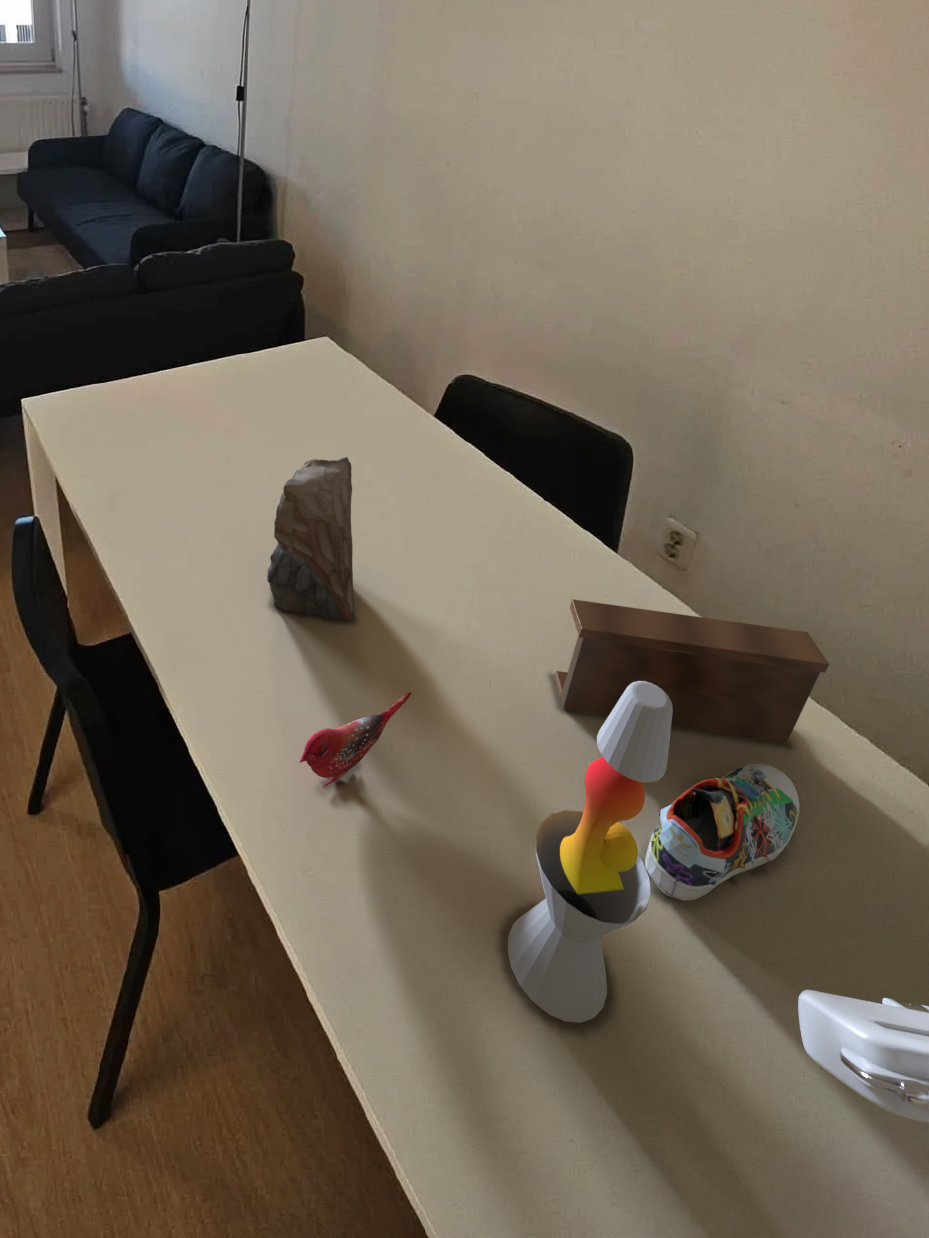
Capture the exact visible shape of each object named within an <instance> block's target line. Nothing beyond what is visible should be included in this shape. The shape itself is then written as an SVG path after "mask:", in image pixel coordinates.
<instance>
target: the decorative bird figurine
mask: <svg viewBox="0 0 929 1238" xmlns="http://www.w3.org/2000/svg"><path fill="white" fill-rule="evenodd" d="M412 694H413V691H409V692H407V693H406V694H405V695H403V696H402V697H401V698H399V699H398V700H397V701H395V702H394V703H393V704H391V705H390V706H389V707H388V708H387V709H385V710H384V711H382V712H381V713H379V714H372V715H368V716H364V717H360V718H357V719H355V720H353V721H351V722H348V723H346V724H344V725H341V726H339V727H336V728H323V729H320V730H318V731H316V732H315V733H313V734H312V735H311V736H310V737H309V738H308V740H307V741H306V743H305V746H304V750H303V753H302V755H301V756H300V759H299V763H300V764H301V763H303V762H306V764H307V765H308V766H309V767H310V769H311V771H312V772H313V773H314V774H316V775H317V776H318V777H320V778H325V779H330V780H329V781H328V782H326V783H324V785H323V786H322V789H324V788H325V787H328V786H329V785H331V784H332V783H337V782H338V781H339V780H340V779H342V778H343V777H344V776H345V775H346V774H347V773H348V772H349V771H350V770H351V769H353V768H354V767H355V766H356V765H358V764H359V763H360V762H361V761H362V760H363V758H365V756H366V755H367V754H368V752H369V751H370V750H371V748H372V747H373V746H374V745H375V744H376V742H377V741H378V740H379V738H380V737H381V735H382V733H383V731H384V730H385V728H386V725H387V724H388V723H389V721H390V719H392V717H394V715H395V714H396V713H397V712H398V710H399V709H400V708H401V707H402V706H403V705H404V704H405V703H406V701H408V699H409V698H410V697H411V695H412Z"/></svg>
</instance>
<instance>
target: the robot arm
mask: <svg viewBox="0 0 929 1238" xmlns="http://www.w3.org/2000/svg"><path fill="white" fill-rule="evenodd" d="M797 1008H798V1010H797V1013H798V1022H799V1030H800V1035H801V1041H802V1044H803V1048H804V1050H805V1053H806V1054H807V1056H808V1057H809V1058H810V1059H811V1060H812V1061H813V1062H815V1064H817V1065H818V1066H819V1067H820V1068H822V1069H824V1070H825V1071H826V1072H827V1073H829V1074H830V1075H831V1076H833V1077H834V1078H835V1079H837V1080H838V1081H839V1082H841V1083H842V1084H843V1085H845V1086H847V1087H848V1088H849V1089H851V1090H852V1091H854V1092H855V1093H857V1094H858V1095H860V1096H861V1097H863V1099H865V1100H867V1101H868V1102H870V1103H872V1104H874V1105H875V1106H878V1107H879V1108H881V1109H883V1110H885V1111H887V1112H890V1113H892V1114H895V1115H897V1116H901V1117H903V1118H906V1119H911V1120H914V1121H916V1122H917V1121H918V1122H922V1123H927V1124H929V1005H924V1004H919V1003H915V1002H908V1001H903V1000H897V999H892V998H888V997H883V998H882V1001H881V1003H879V1002H874V1001H869V1000H864V999H859V998H853V997H849V996H842V995H837V994H834V993H828V992H822V991H819V990H818V991H817V990H814V989H813V990H812V989H805V990H803V991H801V992H800V994H799V996H798V999H797Z"/></svg>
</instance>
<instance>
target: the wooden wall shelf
mask: <svg viewBox="0 0 929 1238" xmlns="http://www.w3.org/2000/svg"><path fill="white" fill-rule="evenodd" d="M569 605H570V606H569V609H570V613H571V616H572V619H573V622H574V625H575V628H576V631H577V634H578V635H577V639H576V641H575V646H574V649H573V653H572V657H571V659H570V663H569V665H568V669H567V671H562V670H556V671H555V674H554V681H555V684H556V688H557V691H558V696H559V698H560V699H559V700H560V702H561V707H562V709H564V710H571V711H576V712H584V713H589V714H597V715H603V716H607V717H608V716H609V715H610V713H611V712H612V710H613V708H614V707H615V705H616V704H617V702H618V701H619V699H620V698H621V696H622V694H623V693H624V691H625V690H626V688H627V687H628V686H629V685H630V684H631V683H633V682H637V681H646V682H649V683H652V684H654V685H656V686H658V687H659V688H661V689H662V690H663V691H664V692H665V693H666V694H667V695H668V697H669V699H670V700H671V702H672V708H673V713H672V722H671V727H672V726H673V727H677V728H685V729H691V730H697V731H704V732H710V733H716V734H723V735H728V736H729V735H730V736H736V737H740V738H748V739H754V740H761V741H766V742H767V741H768V742H773V743H780V744H784V745H785V744H788V741H789V739H790V738H791V736H792V733H793V731H794V729H795V728H796V727H795V726H796V725H797V723H798V721H799V718H800V716H801V714H802V712H803V710H804V708H805V706H806V703H807V702H808V700H809V698H810V695H811V693H812V691H813V689H814V686H815V684H816V682H817V680H818V678H819V676H820V673H823V674H824V673H825V674H826V672H827V670H828V669H829V666H830V663H829V662H828V660H827V659H826V657H825V656H824V654H823V653H822V651H821V650H820V649H819V647H818V646H817V644H816V642H815V640H813V638H812V637H811V635H810V633H809V632H808V631H804V630H796V629H789V628H781V627H775V626H768V625H767V626H766V625H761V624H753V623H746V622H738V621H732V620H731V621H730V620H724V619H717V618H711V617H710V618H709V617H702V616H695V615H687V614H682V613H681V614H680V613H673V612H666V611H660V610H651V609H645V608H638V607H631V606H624V605H616V604H609V603H602V602H595V601H588V600H587V601H586V600H581V599H579V600H578V599H575V598H574V599H573V598H572V599H571V602H570V604H569Z"/></svg>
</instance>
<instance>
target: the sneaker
mask: <svg viewBox="0 0 929 1238" xmlns="http://www.w3.org/2000/svg"><path fill="white" fill-rule="evenodd" d="M799 814H800V799H799V795H798V792H797V789H796V788H795V785H794V783H793V782H792V780H791V779H790V778H789V777H788V776H787V775H786V774H785V773H784V772H783V771H781V770H779V769H778V768H776V767H774V766H772V765H769V764H764V763H763V764H762V763H753V764H751V765H750V764H749V763H747V764H746V765H745V766H743V767H742V766H741V767H737V768H736V769H735V770H731V771H730V772H728V773H727V774H725V775H723V776H722V777H720V778H718V777H714V778H713V777H712V778H709V779H704V780H701V781H699V782H697V783H696V784H694V785H693V786H691V787H689V788H687V789H686V790H684V792H683V793H681V794H680V795H678V797H676V799H675V800H673V802H671V804H669V805H667V806H665V807H663V808H661V809H660V813H658V816H659V821H660V823H659V825H658V826H657V827H656V828H655V829H654V830H653V832H652V834H651V835H650V840H649V843H648V846H647V851H646V854H645V859H644V866H645V869H646V871H647V873H648V876H649V878H650V879H651V880H652V882H654V883H655V885H656V886H657V888H659V890H660V892H662V894H664V895H665V896H668V897H670V898H674V899H676V900H679V901H695V900H697V899H699V898H702V897H704V896H706V895H707V894H708V893H710V892H711V891H713V889H715V888H716V887H717V886H718V885H720V884H722V883H723V882H725V881H727V880H728V879H730V878H732V877H734V876H736V875H739V874H741V873H744V872H747V871H751V870H753V869H756V868H758V867H761V866H762V865H765V864H767V863H769V862H771V861H774V860H775V859H776V858H777V857H778V856H779V855H780V854H781V853H782V852H783V851H784V850H785V848H786V847H787V846H788V844H789V842H790V840H791V838H792V836H793V834H794V832H795V829H796V826H797V823H798V818H799Z"/></svg>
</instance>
